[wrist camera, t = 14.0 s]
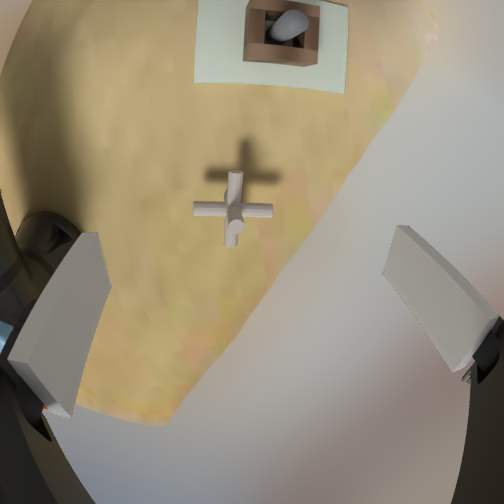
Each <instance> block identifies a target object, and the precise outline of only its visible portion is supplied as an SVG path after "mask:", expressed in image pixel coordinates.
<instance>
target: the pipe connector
mask: <svg viewBox="0 0 504 504" xmlns="http://www.w3.org/2000/svg"><path fill="white" fill-rule="evenodd" d="M243 173H244V172H243V171H241V170H229V172H228V185H227V191H226V192H225V194H224V201H225V202H205V201H194V203H193V216H225V230H224V245H225V246H227V247H235V246H237V240H238V234H239V233H241V232H242V231H243V230H244V228H245V225H244V221H243V217H263V218H272V216H273V204H264V203H241V194H242V184H243Z"/></svg>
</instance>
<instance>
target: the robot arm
mask: <svg viewBox="0 0 504 504" xmlns="http://www.w3.org/2000/svg"><path fill="white" fill-rule="evenodd" d="M1 193H2V192H1V189H0V504H95V502H94V501H93V500H92V498H91V497H90V495H89V494H88V492H87V491H86V489H85V488H84V486H83V485H82V483H81V482H80V480H79V479H78V477H77V475H76V474H75V472H74V471H73V469H72V467H71V466H70V464H69V462H68V460H67V459H66V457H65V455H64V453H63V452H62V450H61V448H60V446H59V444H58V442H57V440H56V438H55V436H54V434H53V432H52V430H51V428H50V426H49V424H48V422H47V419H46V418H45V416H44V415H43V414H42V410H43V406H44V405H45V406H46V407H47V408H48V410H49V411H50V412H51V413H52V414H56V415H61V416H66V417H70V418H72V414H73V410H74V405H75V401H76V397H77V393H78V389H79V385H80V381H81V377H82V373H83V370H84V366H85V363H86V359H87V356H88V353H89V349H90V346H91V343H92V340H93V337H94V334H95V331H96V328H97V325H98V322H99V319H100V316H101V313H102V310H103V307H104V305H105V302H106V299H107V297H108V294H109V291H110V289H111V283H110V279H109V276H108V272H107V268H106V264H105V261H104V257H103V252H102V248H101V244H100V240H99V235H98V232H88V233H82V234H80V232H79V231H78V230H77V229H76V227H75V226H74V225H73V224H72V223H70V222H69V221H68V220H67V219H65V218H64V217H62V216H60V215H58V214H55V213H52V212H38V213H35V214H33V215H31V216H30V217H29V218H27V219H26V220H25V221H24V222H23V223H22V224H21V226H20V227H19V229H18V230H17V233H16V236H14V234H13V231H12V228H11V225H10V223H9V220H8V216H7V213H6V210H5V207H4V203H3V200H2V196H1ZM382 274H383V275H384V277H385V278H386V279H387V281H388V282H389V283H390V284H391V286H392V287H393V288H394V290H395V291H396V292H397V294H398V295H399V296H400V297H401V299H402V300H403V301H404V303H405V304H406V305H407V307H408V308H409V309H410V311H411V312H412V314H413V315H414V316H415V318H416V319H417V321H418V322H419V323H420V325H421V326H422V327H423V329H424V330H425V332H426V333H427V335H428V336H429V338H430V339H431V340H432V342H433V343H434V345H435V346H436V348H437V349H438V351H439V352H440V354H441V355H442V357H443V358H444V360H445V362H446V363H447V365H448V366H449V368H450V369H451V371H452V372H455V371H458V370H460V369H462V368H464V367H465V366H466V364H467V363H468V362H469V361H470V359H471V358H472V357H473V358H474V360H475V362H474V363H473V365H472V366H471V367H470V369H469V370H468V371H467V372H466V373H465V375H464V376H463V377H462V381H464V380H465V379H466V378H467V377H468V376H469V375H471V377H470V378H469V379H468V380H467V383H470V384H471V388H470V389H471V390H470V405H469V416H468V425H467V433H466V440H465V446H464V452H463V457H462V463H461V467H460V472H459V476H458V480H457V484H456V488H455V492H454V495H453V499H452V502H451V504H504V320H503V319H502V318H501V317H500V315H499V314H498V313H497V312H496V311H495V310H494V308H493V307H492V306H491V305H490V304H489V303H488V302H487V301H486V300H485V298H484V297H483V296H482V295H481V294H480V293H479V292H478V291H477V290H476V289H475V288H474V287H473V286H472V285H471V284H470V283H469V281H467V279H466V278H464V276H463V275H462V274H461V273H460V272H459V271H458V270H457V269H455V267H453V265H451V264H450V263H449V262H448V261H447V260H446V259H445V258H444V257H443V256H442V255H441V254H440V253H439V252H438V251H437V250H436V249H434V248H433V247H432V246H431V245H430V244H429V243H428V242H427V241H426V240H425V239H423V238H422V237H421V236H420V235H419V234H417V232H415V231H414V230H413V229H412V228H411V227H410V226H402V225H399V226H398V225H397V226H396V230H395V234H394V237H393V241H392V244H391V247H390V251H389V254H388V257H387V260H386V263H385V266H384V269H383V272H382Z"/></svg>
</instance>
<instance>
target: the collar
mask: <svg viewBox="0 0 504 504" xmlns="http://www.w3.org/2000/svg"><path fill="white" fill-rule="evenodd" d="M288 10H299V11H301V12H303V13H304V14H305V15H306V16H307V17H308V20H309V26H308V28H307V29H306V30H305V31H303V32H302V33H300V34H298V35H297V36H295V37H293V47H288V46H280V45H270V44H264V32H265V20H267V21H277V20H278V19H279V18H280V17H281V16H282V15H283V14H284V13H285V12H286V11H288ZM319 23H320V6H316V5H311V4H306V3H300V2H295V1H288V0H249V2H248V4H247V6H246V12H245V29H244V47H243V61H244V62H261V63H273V64H283V65H292V66H300V67H307V66H311V65H315V64H317V63H318V45H319Z"/></svg>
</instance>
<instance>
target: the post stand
mask: <svg viewBox="0 0 504 504" xmlns="http://www.w3.org/2000/svg"><path fill="white" fill-rule="evenodd" d="M288 1H295V2H300V3H306V4H311V5H316V6H320V23H319V45H318V63H317V64H315V65H311V66H307V67H300V66H292V65H283V64H273V63H261V62H244V61H243V47H244V29H245V12H246V6H247V4H248V2H249V0H199V2H198V15H197V30H196V47H195V71H194V84H199V83H240V84H262V85H276V86H287V87H297V88H305V89H313V90H320V91H327V92H333V93H339V94H344V89H345V76H346V60H347V40H348V7H344V6H341V5H337V4H333V3H329V2H324V1H320V0H288ZM308 26H309V20H308V17H307V16H306V15H305V14H304V13H303V12H301V11H299V10H288V11H286V12H285V13H284V14H283V15H282V16H281V17H280V18H279V19H278V20H277V21H267V20H265V32H264V44H270V45H280V46H288V47H293V37H295V36H297V35H298V34H300V33H302V32H303V31H305V30H306V29H307V28H308Z"/></svg>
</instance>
